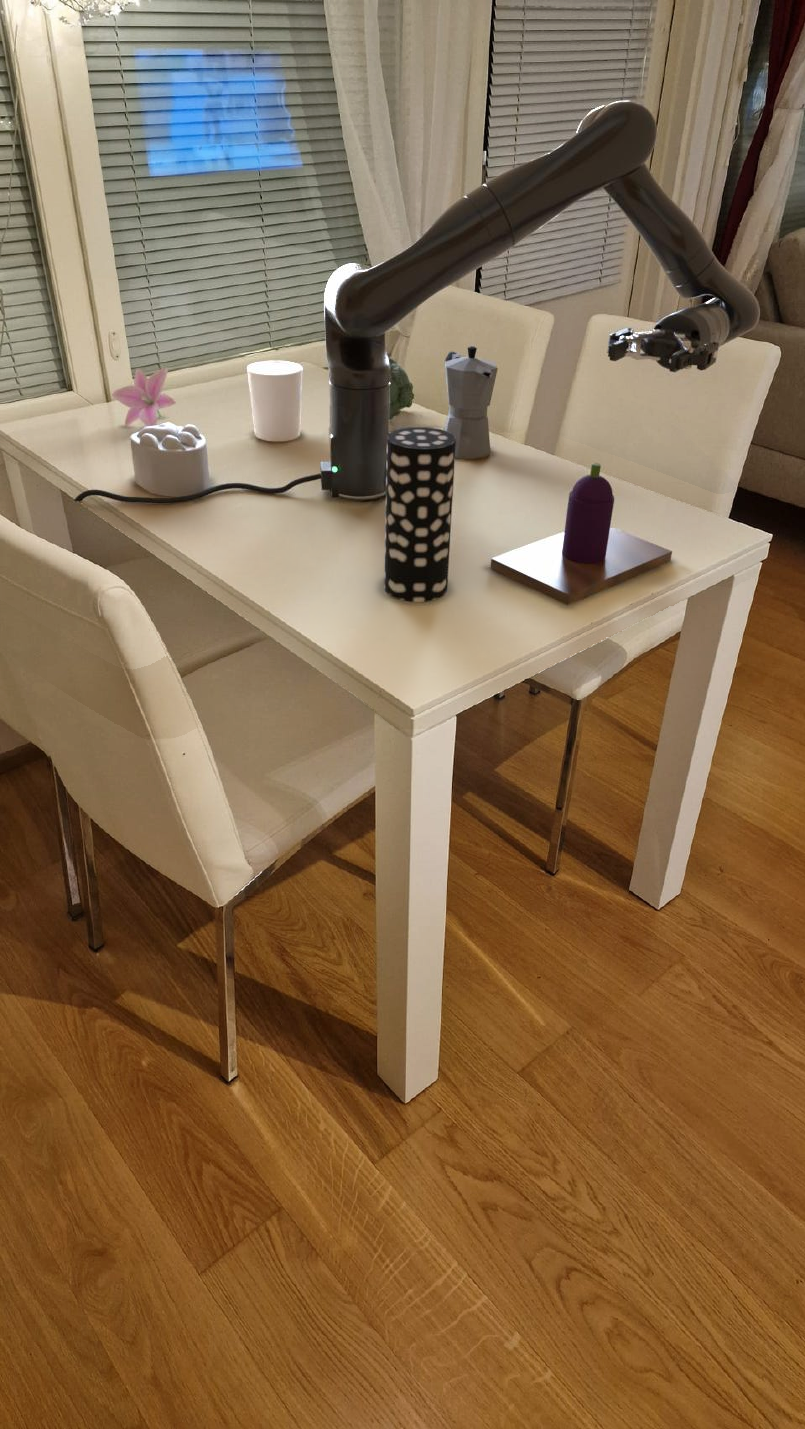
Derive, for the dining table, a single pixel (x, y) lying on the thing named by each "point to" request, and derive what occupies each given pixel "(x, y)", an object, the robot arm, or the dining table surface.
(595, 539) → the eggplant
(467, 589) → the dining table surface
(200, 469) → the lumpy-topped squat cylinder
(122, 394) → the lily
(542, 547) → the cutting board
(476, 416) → the coffeepot
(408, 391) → the vegetable
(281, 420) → the candle holder
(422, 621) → the dining table surface
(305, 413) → the dining table surface
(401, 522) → the spotted tube
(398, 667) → the dining table surface
